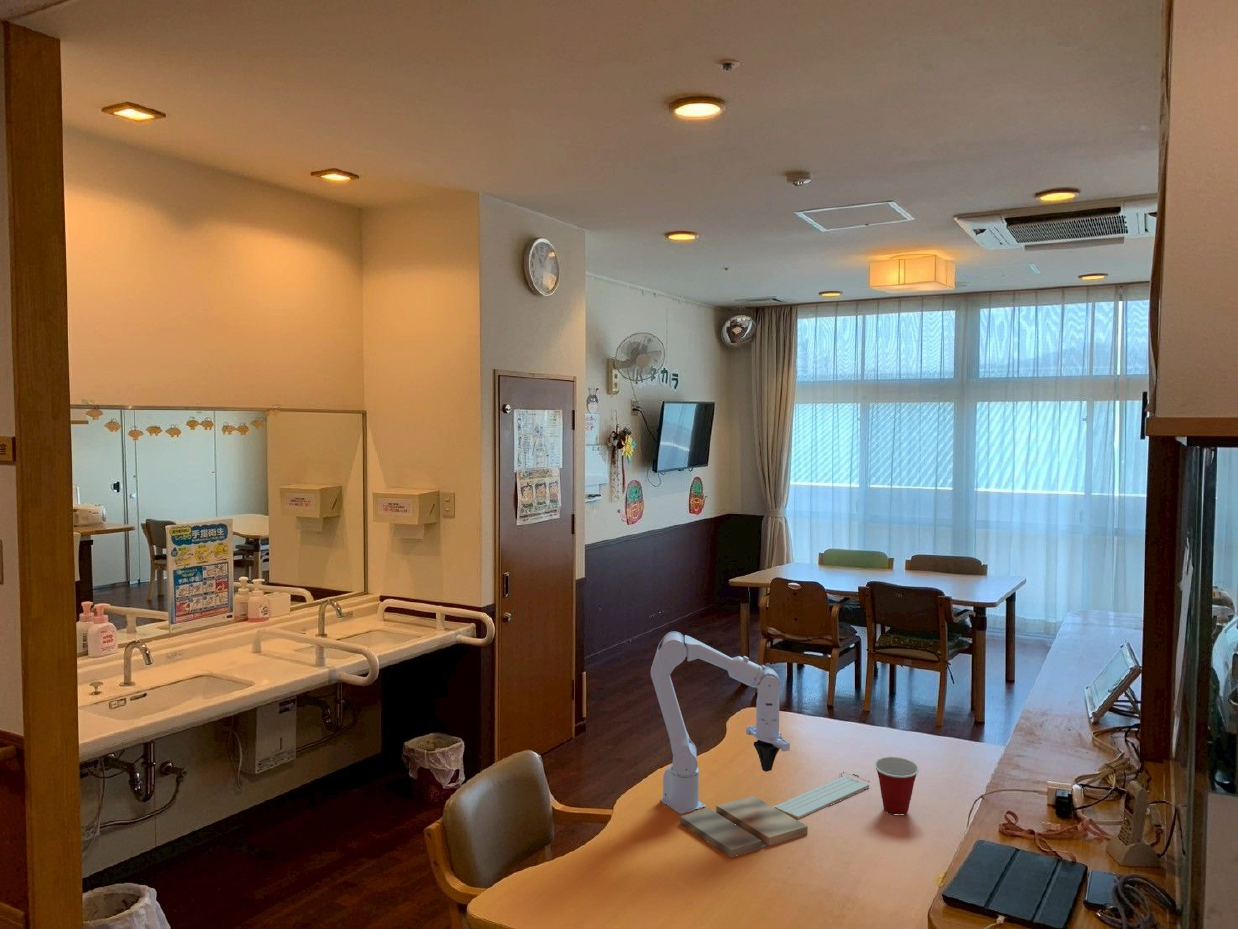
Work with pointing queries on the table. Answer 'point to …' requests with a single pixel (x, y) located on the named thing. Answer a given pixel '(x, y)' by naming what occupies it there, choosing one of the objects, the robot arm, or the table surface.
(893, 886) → the table surface
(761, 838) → the plank
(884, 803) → the plastic cup
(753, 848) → the floor panel
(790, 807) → the baseboard
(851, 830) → the table surface
